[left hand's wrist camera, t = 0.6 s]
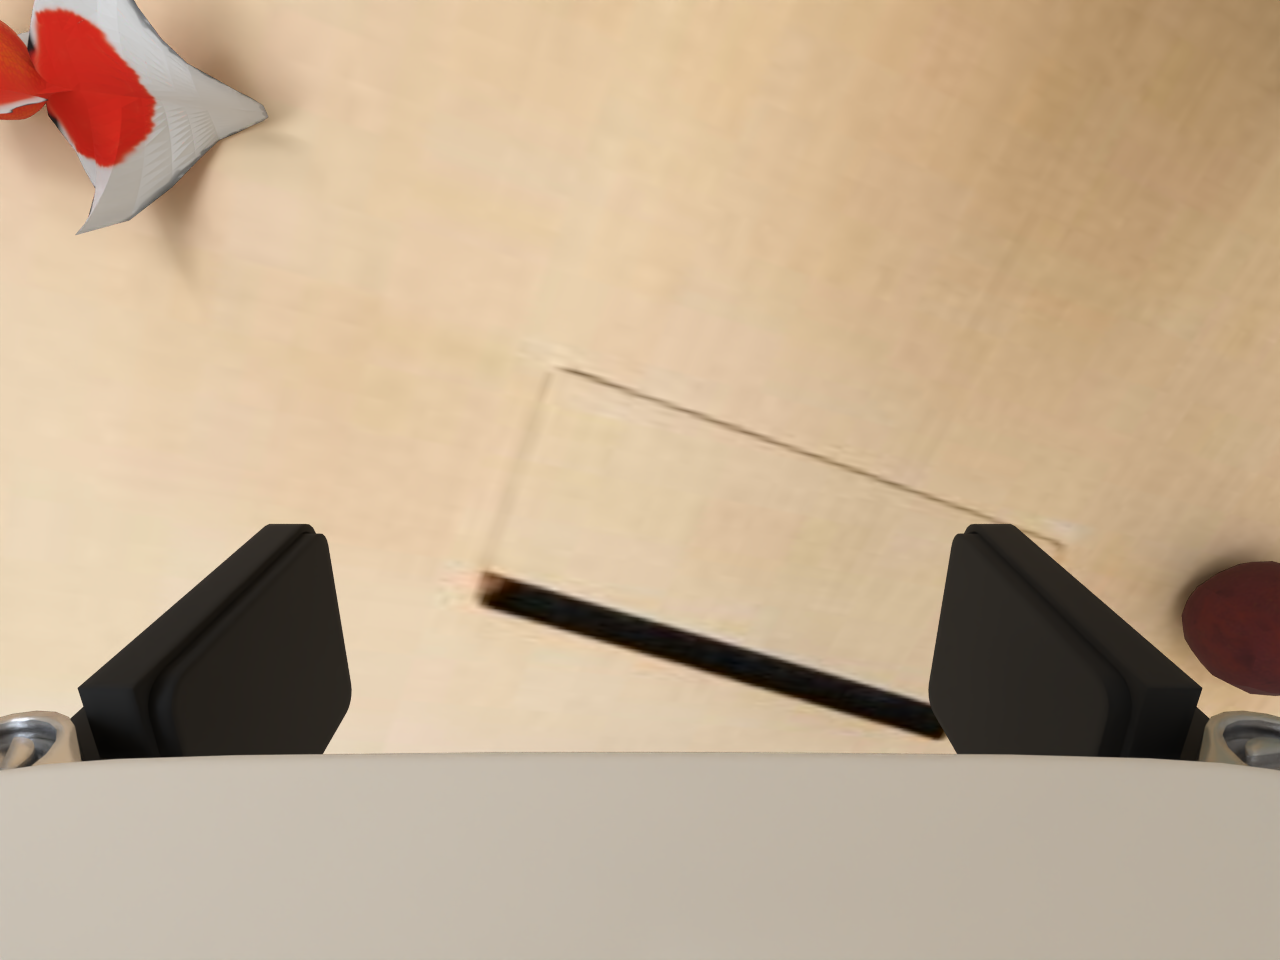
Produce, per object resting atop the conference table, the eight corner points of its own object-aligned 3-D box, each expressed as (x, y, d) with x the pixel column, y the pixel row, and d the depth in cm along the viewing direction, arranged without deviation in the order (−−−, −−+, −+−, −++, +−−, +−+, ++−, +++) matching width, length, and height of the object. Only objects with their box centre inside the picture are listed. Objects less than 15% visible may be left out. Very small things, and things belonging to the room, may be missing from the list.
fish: (-158, -224, 28) (-313, -171, 21) (294, -3, 36) (278, 83, 29) (-130, 55, 34) (-243, 161, 28) (249, 189, 42) (228, 293, 36)
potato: (1274, 642, 46) (1379, 715, 40) (1147, 654, 46) (1231, 729, 40) (1297, 536, 44) (1414, 595, 37) (1163, 549, 44) (1255, 611, 37)
